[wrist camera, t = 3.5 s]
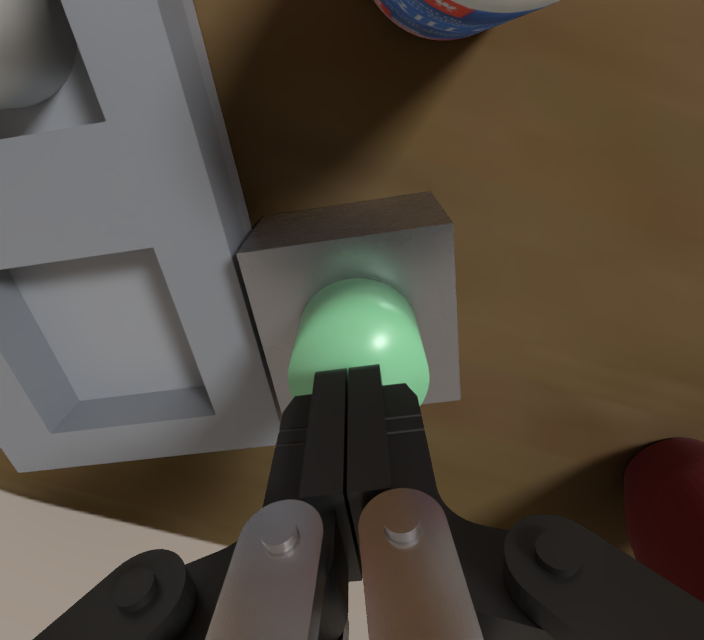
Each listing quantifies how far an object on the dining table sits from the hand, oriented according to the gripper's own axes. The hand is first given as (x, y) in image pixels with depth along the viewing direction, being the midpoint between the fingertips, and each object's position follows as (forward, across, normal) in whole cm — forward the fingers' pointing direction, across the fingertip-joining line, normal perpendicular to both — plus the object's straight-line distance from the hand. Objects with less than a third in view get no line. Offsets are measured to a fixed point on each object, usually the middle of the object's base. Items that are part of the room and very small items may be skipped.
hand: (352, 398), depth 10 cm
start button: (+3, 0, 0) cm, 3 cm away
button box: (+7, 0, 0) cm, 7 cm away
